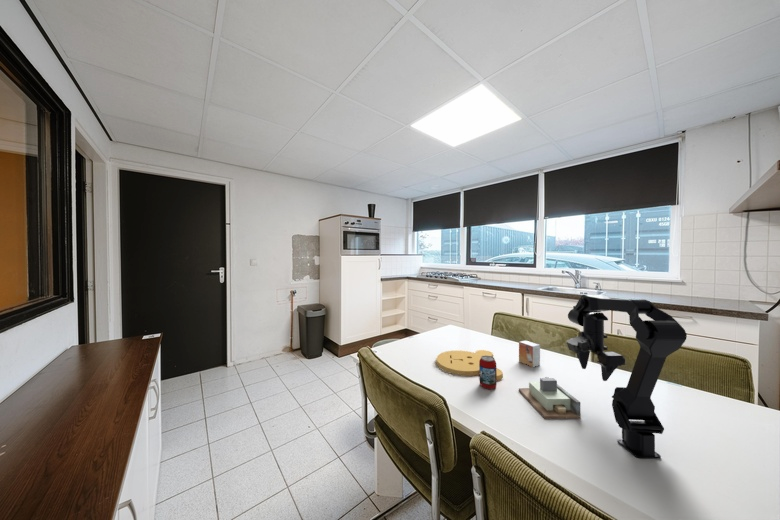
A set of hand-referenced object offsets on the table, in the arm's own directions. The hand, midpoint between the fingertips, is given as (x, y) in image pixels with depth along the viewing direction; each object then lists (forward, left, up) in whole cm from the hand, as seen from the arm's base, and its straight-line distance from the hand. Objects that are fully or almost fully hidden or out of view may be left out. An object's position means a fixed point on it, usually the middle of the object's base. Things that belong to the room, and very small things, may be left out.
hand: (593, 374), depth 90 cm
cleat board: (+5, +14, -13) cm, 19 cm away
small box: (+40, +2, -13) cm, 42 cm away
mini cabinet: (+5, +13, -12) cm, 18 cm away
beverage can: (+18, +31, -13) cm, 38 cm away
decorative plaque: (+40, +34, -14) cm, 54 cm away
